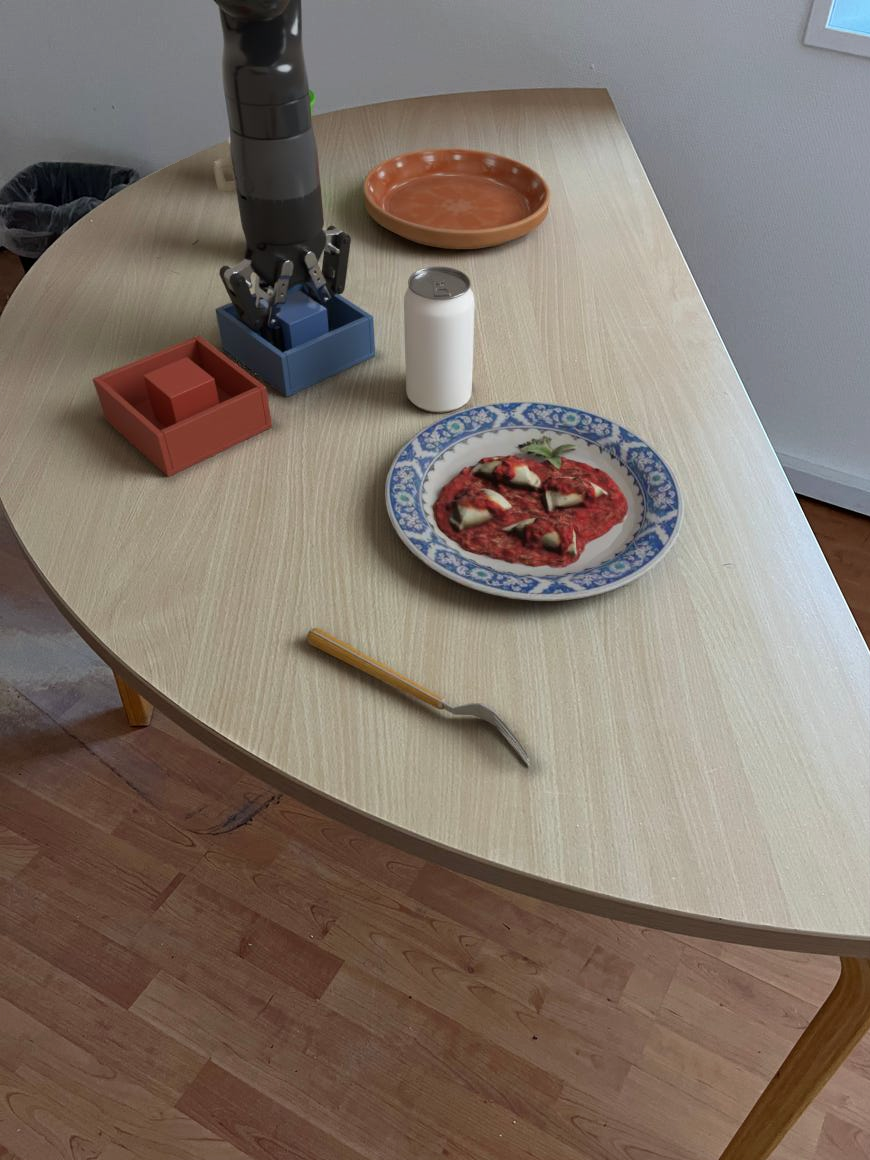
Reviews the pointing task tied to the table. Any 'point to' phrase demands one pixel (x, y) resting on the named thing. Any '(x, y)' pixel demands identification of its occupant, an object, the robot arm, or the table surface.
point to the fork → (405, 682)
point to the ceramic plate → (534, 501)
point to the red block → (180, 391)
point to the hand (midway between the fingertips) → (297, 345)
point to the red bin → (198, 434)
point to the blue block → (302, 320)
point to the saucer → (456, 197)
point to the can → (439, 339)
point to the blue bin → (301, 346)
